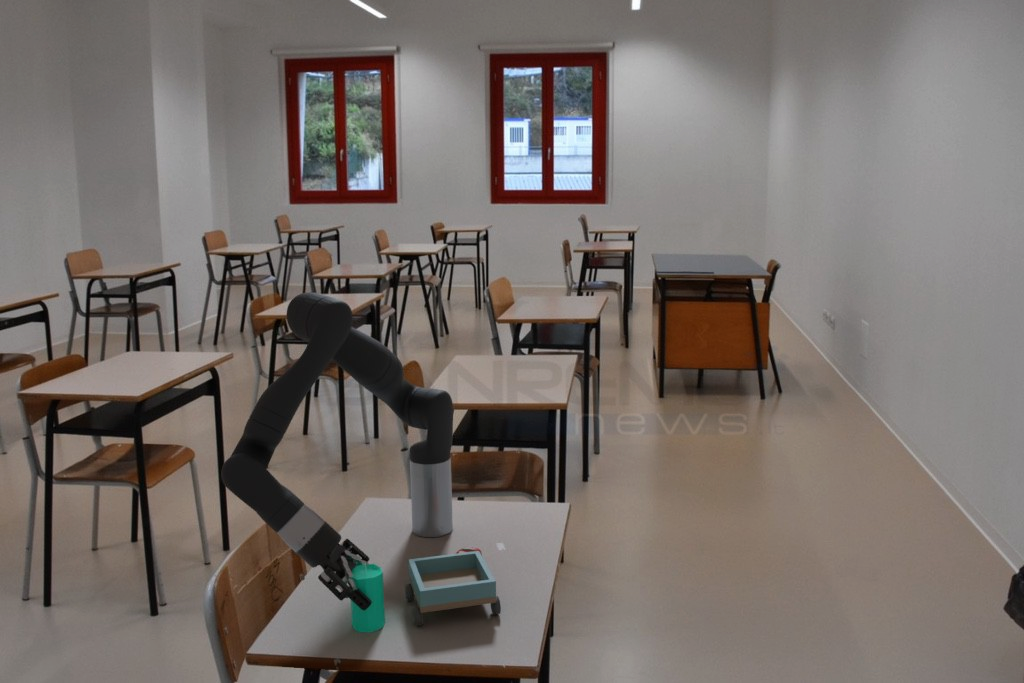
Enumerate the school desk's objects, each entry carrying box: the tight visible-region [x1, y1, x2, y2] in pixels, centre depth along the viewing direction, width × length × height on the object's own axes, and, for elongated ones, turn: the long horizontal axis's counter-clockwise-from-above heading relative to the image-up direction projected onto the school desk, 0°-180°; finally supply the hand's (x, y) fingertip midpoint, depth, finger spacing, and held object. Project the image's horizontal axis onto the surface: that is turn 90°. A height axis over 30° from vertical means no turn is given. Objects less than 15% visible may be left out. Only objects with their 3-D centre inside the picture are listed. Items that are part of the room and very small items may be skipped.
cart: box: [404, 551, 502, 626], centre depth 178 cm, size 14×16×7 cm
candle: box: [350, 563, 386, 633], centre depth 172 cm, size 6×6×12 cm
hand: (374, 595), depth 172 cm, fingers open, 8 cm apart
